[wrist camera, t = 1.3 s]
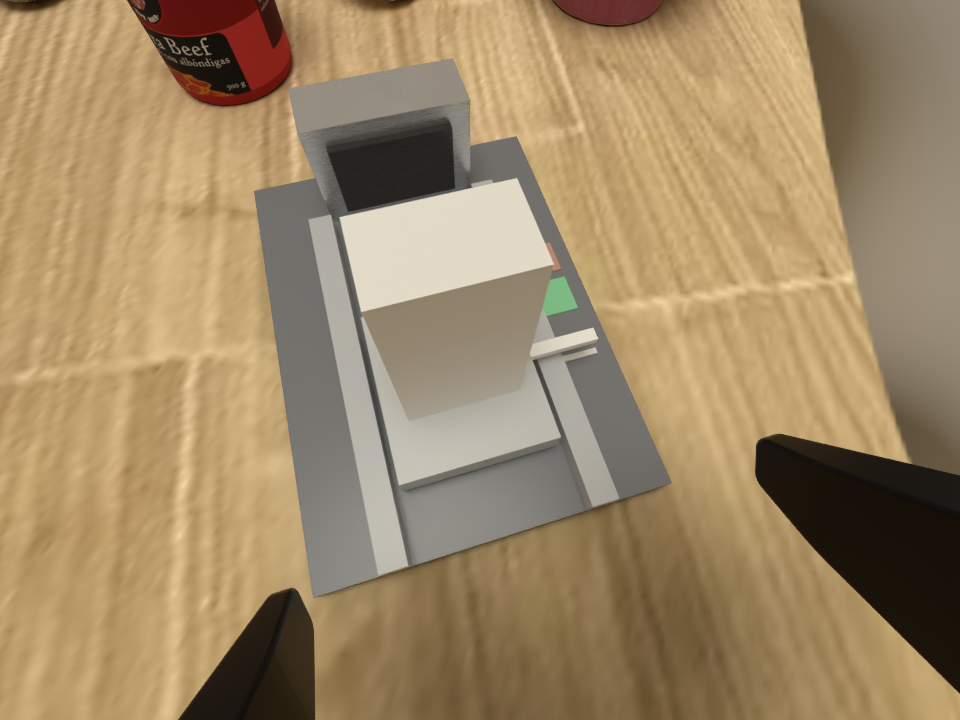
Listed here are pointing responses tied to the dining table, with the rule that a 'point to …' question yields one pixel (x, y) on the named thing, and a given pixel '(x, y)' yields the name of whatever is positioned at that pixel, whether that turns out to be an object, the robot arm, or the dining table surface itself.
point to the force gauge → (456, 328)
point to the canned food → (219, 46)
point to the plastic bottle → (20, 0)
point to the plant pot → (610, 10)
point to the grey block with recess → (386, 136)
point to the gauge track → (359, 419)
